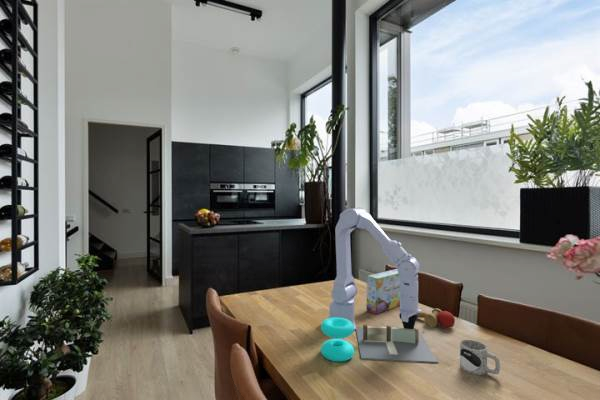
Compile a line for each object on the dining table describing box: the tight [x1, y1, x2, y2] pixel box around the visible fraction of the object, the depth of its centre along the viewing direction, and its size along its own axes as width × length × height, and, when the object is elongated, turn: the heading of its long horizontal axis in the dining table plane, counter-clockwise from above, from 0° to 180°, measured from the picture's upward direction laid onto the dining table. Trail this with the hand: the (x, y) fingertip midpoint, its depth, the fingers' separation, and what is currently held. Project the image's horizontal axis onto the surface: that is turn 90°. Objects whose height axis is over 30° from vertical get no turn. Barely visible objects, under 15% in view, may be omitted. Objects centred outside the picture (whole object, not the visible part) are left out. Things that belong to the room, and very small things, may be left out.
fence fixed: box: [362, 324, 392, 342], centre depth 105 cm, size 9×1×5 cm, turn 84°
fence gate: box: [391, 326, 420, 344], centre depth 104 cm, size 8×1×4 cm, turn 76°
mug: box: [459, 339, 501, 376], centre depth 88 cm, size 10×7×7 cm, turn 37°
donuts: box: [320, 317, 355, 362], centre depth 97 cm, size 10×10×10 cm
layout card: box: [355, 326, 439, 364], centre depth 104 cm, size 22×22×1 cm
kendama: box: [417, 307, 456, 329], centre depth 121 cm, size 8×6×18 cm
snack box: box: [365, 268, 400, 315], centre depth 137 cm, size 21×6×15 cm, turn 129°
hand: (408, 336), depth 105 cm, fingers closed
